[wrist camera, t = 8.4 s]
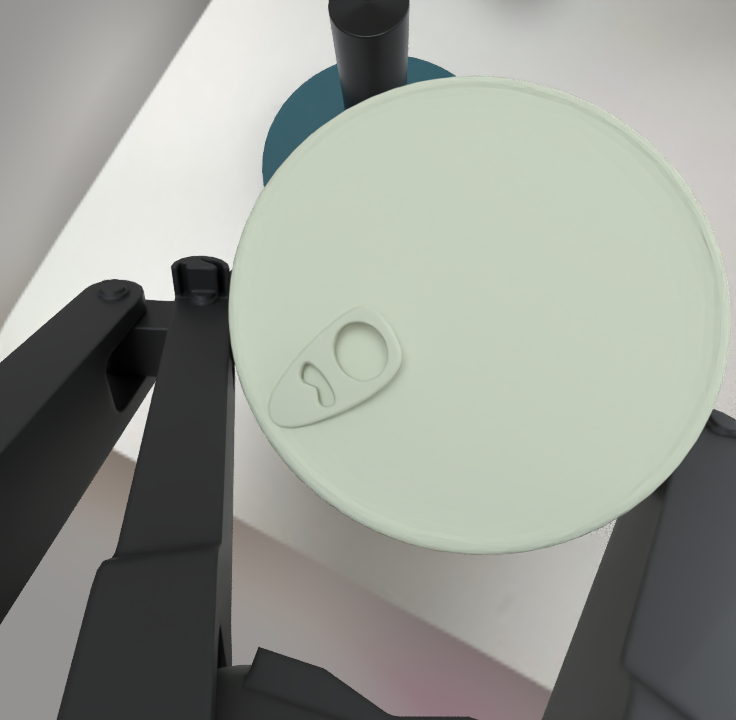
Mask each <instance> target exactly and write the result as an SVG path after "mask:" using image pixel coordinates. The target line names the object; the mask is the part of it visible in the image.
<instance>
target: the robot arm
mask: <svg viewBox="0 0 736 720" xmlns="http://www.w3.org/2000/svg"><path fill="white" fill-rule="evenodd" d="M171 270H172V277H173V284H174V291H175V301H157V300H145V296H144V291H143V288H142V286H140V285H139V284H137V283H135V282H131V281H127V280H118V279H111V280H104V281H102V282H99V283H96V284H93V285H91V286H89V287H88V288H86V289H85V290H83V291H82V292H81V293H80V294H79V295H78V296H77V297H75V298H74V299H73V300H72V301H71V302H70V303H69V304H67V305H66V306H65V307H64V308H63V309H62V310H60V311H59V312H58V313H57V314H56V315H55V316H54V317H52V318H51V319H50V320H49V321H48V322H47V323H45V324H44V325H43V326H42V327H41V328H40V329H39V330H37V331H36V332H35V333H34V334H33V335H32V336H31V337H29V338H28V339H27V340H26V341H25V342H24V343H22V344H21V345H20V346H19V347H18V348H17V349H16V350H14V351H13V352H12V353H11V354H10V355H9V356H8V357H6V358H5V359H4V360H3V361H2V362H1V363H0V624H1V623H2V621H3V619H4V618H5V616H6V615H7V613H8V612H9V610H10V608H11V607H12V605H13V604H14V602H15V601H16V599H17V597H18V596H19V594H20V593H21V591H22V590H23V588H24V586H25V585H26V583H27V582H28V580H29V579H30V577H31V576H32V574H33V572H34V571H35V569H36V568H37V566H38V565H39V563H40V561H41V560H42V558H43V557H44V555H45V553H46V552H47V550H48V549H49V547H50V546H51V544H52V542H53V541H54V539H55V538H56V536H57V535H58V533H59V531H60V530H61V529H62V527H63V525H64V524H65V522H66V521H67V519H68V518H69V516H70V514H71V513H72V511H73V510H74V508H75V506H76V505H77V503H78V502H79V500H80V499H81V497H82V495H83V494H84V492H85V491H86V489H87V488H88V486H89V485H90V483H91V481H92V480H93V478H94V477H95V475H96V474H97V472H98V470H99V469H100V467H101V466H102V464H103V463H104V461H105V459H106V458H107V456H108V455H109V453H110V452H111V450H112V449H113V447H114V445H115V444H116V442H117V441H118V439H119V438H120V436H121V434H122V433H123V431H124V430H125V428H126V427H127V425H128V423H129V422H130V420H131V419H132V417H133V416H134V414H135V413H136V411H137V409H138V408H139V406H140V405H141V403H142V402H143V400H144V398H145V397H146V395H147V394H148V392H149V391H150V389H151V387H152V386H153V384H154V383H155V387H154V391H153V395H152V399H151V404H150V408H149V412H148V417H147V421H146V425H145V429H144V434H143V438H142V442H141V447H140V451H139V455H138V459H137V464H136V468H135V472H134V477H133V481H132V485H131V490H130V494H129V498H128V503H127V507H126V511H125V515H124V520H123V524H122V528H121V532H120V537H119V542H118V545H117V548H116V551H115V554H114V555H113V557H112V558H110V559H108V560H105V561H103V562H102V564H101V565H100V567H99V569H98V570H97V572H96V575H95V578H94V581H93V584H92V587H91V591H90V595H89V598H88V602H87V606H86V610H85V614H84V617H83V621H82V626H81V629H80V633H79V637H78V641H77V644H76V648H75V652H74V656H73V659H72V663H71V668H70V671H69V675H68V679H67V682H66V686H65V690H64V694H63V698H62V702H61V706H60V709H59V713H58V717H57V720H476V719H474V718H471V717H399V716H393V715H390V714H388V713H386V712H384V711H383V710H382V709H380V708H379V707H377V706H376V705H374V704H373V703H372V702H370V701H369V700H368V699H366V698H365V697H363V696H362V695H360V694H359V693H358V692H356V691H355V690H354V689H352V688H351V687H349V686H348V685H346V684H345V683H344V682H342V681H341V680H339V679H338V678H337V677H335V676H334V675H332V674H331V673H329V672H328V671H327V670H325V669H324V668H320V667H318V666H315V665H311V664H309V663H305V662H303V661H299V660H297V659H294V658H290V657H287V656H284V655H281V654H278V653H275V652H272V651H269V650H266V649H263V648H260V647H258V650H257V653H256V655H255V658H254V660H253V663H252V665H237V666H232V648H231V647H232V645H231V590H232V534H233V531H232V530H233V476H234V419H235V361H234V357H233V352H232V347H231V339H230V329H229V292H230V282H231V275H232V270H231V271H229V266H228V264H227V263H226V262H224V261H223V260H221V259H218V258H214V257H208V256H191V257H186V258H182V259H180V260H178V261H176V262H174V263H173V265H172V266H171ZM155 381H156V382H155ZM542 720H736V420H735V419H733V418H732V417H730V416H728V415H726V414H724V413H723V412H720V411H717V410H715V409H713V410H712V412H711V414H710V416H709V418H708V420H707V422H706V424H705V426H704V428H703V430H702V432H701V434H700V435H699V437H698V439H697V441H696V442H695V444H694V445H693V446H692V448H691V449H690V451H689V452H688V453H687V455H686V456H685V458H684V459H683V461H682V462H681V463H680V465H679V466H678V467H677V468H676V469H675V470H674V471H673V472H672V474H671V475H670V476H669V477H668V478H667V479H666V480H665V481H664V482H663V483H662V484H661V485H660V486H659V487H658V488H657V489H656V490H655V491H654V492H653V493H652V494H651V495H649V496H648V497H647V498H645V499H644V500H643V501H641V502H640V503H639V504H638V505H636V506H635V507H634V508H632V509H631V510H630V511H628V512H627V513H625V514H623V515H622V516H620V517H618V518H617V520H616V523H615V526H614V528H613V531H612V534H611V536H610V539H609V542H608V544H607V547H606V550H605V552H604V555H603V558H602V561H601V563H600V566H599V569H598V571H597V574H596V577H595V579H594V582H593V585H592V587H591V590H590V593H589V595H588V598H587V601H586V603H585V606H584V609H583V611H582V614H581V617H580V619H579V622H578V625H577V627H576V630H575V633H574V635H573V638H572V641H571V643H570V646H569V649H568V651H567V654H566V657H565V659H564V662H563V665H562V667H561V670H560V673H559V675H558V678H557V681H556V683H555V686H554V689H553V691H552V694H551V697H550V699H549V702H548V705H547V708H546V710H545V713H544V716H543V718H542Z"/></svg>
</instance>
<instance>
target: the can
mask: <svg viewBox="0 0 736 720" xmlns="http://www.w3.org/2000/svg"><path fill="white" fill-rule="evenodd" d="M730 326H731V310H730V300H729V290H728V281H727V277H726V273H725V269H724V265H723V261H722V257H721V253H720V249H719V247H718V244H717V241H716V238H715V236H714V233H713V230H712V228H711V226H710V224H709V221H708V219H707V218H706V216H705V214H704V212H703V210H702V209H701V207H700V205H699V203H698V201H697V200H696V198H695V196H694V194H693V193H692V191H691V190H690V188H689V187H688V185H687V184H686V183H685V181H684V180H683V178H682V177H681V176H680V174H679V173H678V172H677V171H676V170H675V169H674V167H673V166H672V165H671V164H670V163H669V162H668V161H667V160H666V159H665V158H664V157H663V156H662V155H661V154H660V153H659V152H658V151H657V150H656V149H655V148H654V147H653V145H652V144H651V143H650V142H649V141H647V140H646V139H645V138H643V137H642V136H641V135H639V134H638V133H637V132H636V131H634V130H633V129H632V128H630V127H629V126H628V125H626V124H625V123H624V122H622V121H621V120H620V119H618V118H616V117H615V116H613V115H611V114H609V113H608V112H606V111H604V110H602V109H601V108H599V107H597V106H595V105H594V104H592V103H589V102H587V101H585V100H583V99H580V98H578V97H576V96H573V95H571V94H569V93H566V92H563V91H560V90H557V89H554V88H551V87H547V86H544V85H541V84H537V83H531V82H526V81H520V80H515V79H509V78H502V77H484V76H462V77H449V78H441V79H433V80H427V81H422V82H416V83H413V84H409V85H406V86H402V87H399V88H395V89H392V90H389V91H387V92H384V93H381V94H379V95H376V96H373V97H371V98H369V99H367V100H365V101H363V102H361V103H359V104H357V105H355V106H353V107H351V108H349V109H347V110H345V111H344V112H342V113H341V114H339V115H338V116H336V117H335V118H333V119H332V120H330V121H329V122H327V123H326V124H324V125H323V126H321V127H320V128H319V129H317V130H316V131H315V132H314V133H312V134H311V135H310V136H309V137H308V138H307V139H306V140H304V141H303V142H302V143H301V144H300V145H299V146H298V147H297V148H296V149H295V150H294V151H293V152H292V153H291V154H290V156H289V157H288V158H287V159H286V160H285V161H284V162H283V164H282V165H281V166H280V167H279V168H278V169H277V171H276V172H275V173H274V175H273V176H272V178H271V179H270V180H269V182H268V183H267V185H266V186H265V188H264V189H263V191H262V193H261V194H260V196H259V197H258V199H257V201H256V203H255V205H254V207H253V209H252V211H251V214H250V216H249V218H248V220H247V222H246V224H245V227H244V229H243V232H242V235H241V238H240V241H239V244H238V247H237V250H236V254H235V258H234V263H233V269H232V275H231V282H230V292H229V329H230V339H231V347H232V352H233V357H234V361H235V366H236V370H237V373H238V376H239V380H240V383H241V386H242V389H243V392H244V395H245V397H246V399H247V401H248V403H249V406H250V408H251V410H252V412H253V414H254V416H255V418H256V420H257V422H258V424H259V426H260V428H261V429H262V431H263V433H264V434H265V436H266V437H267V439H268V440H269V442H270V443H271V445H272V446H273V448H274V449H275V450H276V452H277V453H278V454H279V456H280V457H281V458H282V460H283V461H284V462H285V463H286V464H287V466H288V467H289V468H290V469H291V470H292V471H293V472H294V473H295V474H296V476H297V477H298V478H299V479H300V480H301V481H302V482H304V483H305V484H306V485H307V486H308V487H309V488H310V489H311V490H312V491H314V492H315V493H316V494H317V495H318V496H320V497H321V498H322V499H323V500H324V501H326V502H327V503H328V504H330V505H331V506H333V507H334V508H336V509H337V510H339V511H340V512H342V513H343V514H345V515H346V516H348V517H349V518H351V519H352V520H354V521H356V522H358V523H360V524H362V525H364V526H366V527H368V528H370V529H372V530H374V531H376V532H378V533H380V534H383V535H386V536H389V537H391V538H394V539H397V540H399V541H402V542H406V543H409V544H412V545H415V546H419V547H422V548H427V549H432V550H437V551H445V552H452V553H459V554H475V555H497V554H509V553H520V552H527V551H532V550H537V549H542V548H547V547H550V546H554V545H557V544H561V543H564V542H567V541H570V540H572V539H575V538H578V537H581V536H583V535H585V534H588V533H590V532H592V531H595V530H597V529H599V528H601V527H603V526H605V525H607V524H608V523H610V522H612V521H613V520H615V519H617V518H618V517H620V516H622V515H623V514H625V513H627V512H628V511H630V510H631V509H632V508H634V507H635V506H636V505H638V504H639V503H640V502H641V501H643V500H644V499H645V498H647V497H648V496H649V495H651V494H652V493H653V492H654V491H655V490H656V489H657V488H658V487H659V486H660V485H661V484H662V483H663V482H664V481H665V480H666V479H667V478H668V477H669V476H670V475H671V474H672V472H673V471H674V470H675V469H676V468H677V467H678V466H679V465H680V463H681V462H682V461H683V459H684V458H685V456H686V455H687V453H688V452H689V451H690V449H691V448H692V446H693V445H694V444H695V442H696V441H697V439H698V437H699V435H700V434H701V432H702V430H703V428H704V426H705V424H706V422H707V420H708V418H709V416H710V414H711V412H712V410H713V408H714V405H715V402H716V399H717V396H718V394H719V391H720V388H721V385H722V381H723V377H724V373H725V369H726V363H727V357H728V351H729V345H730Z"/></svg>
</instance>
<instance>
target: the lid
mask: <svg viewBox="0 0 736 720" xmlns="http://www.w3.org/2000/svg"><path fill="white" fill-rule="evenodd" d="M328 10H329V16H330V23H331V29H332V35H333V41H334V48H335V54H336V60H337V64H336V65H333V66H331V67H329V68H327V69H325V70H323V71H321V72H320V73H318V74H316V75H314V76H313V77H312V78H310V79H309V80H308V81H306V82H305V83H304V84H302V85H301V86H300V87H299V88H298V89H297V90H296V91H295V92H294V93H293V94H292V95H291V96H290V97H289V98H288V100H287V101H286V102H285V103H284V104H283V106H282V107H281V109H280V110H279V112H278V114H277V115H276V117H275V119H274V121H273V123H272V125H271V127H270V129H269V132H268V136H267V139H266V142H265V147H264V152H263V164H262V173H263V182H264V187H265V186H266V185H267V183H268V182H269V180H270V179H271V178H272V176H273V175H274V173H275V172H276V171H277V169H278V168H279V167H280V166H281V165H282V164H283V162H284V161H285V160H286V159H287V158H288V157H289V156H290V154H291V153H292V152H293V151H294V150H295V149H296V148H297V147H298V146H299V145H300V144H301V143H302V142H303V141H304V140H306V139H307V138H308V137H309V136H310V135H311V134H312V133H314V132H315V131H316V130H317V129H319V128H320V127H321V126H323V125H324V124H326V123H327V122H329V121H330V120H332V119H333V118H335V117H336V116H338V115H339V114H341V113H342V112H344V111H345V110H347V109H349V108H351V107H353V106H355V105H357V104H359V103H361V102H363V101H365V100H367V99H369V98H371V97H373V96H376V95H379V94H381V93H384V92H387V91H389V90H392V89H395V88H399V87H402V86H406V85H409V84H413V83H416V82H422V81H427V80H433V79H441V78H449V77H456V76H455V75H453V74H452V73H450V72H448V71H447V70H445V69H443V68H441V67H439V66H437V65H434V64H432V63H430V62H427V61H424V60H420V59H417V58H413V57H408V36H409V0H329V4H328Z"/></svg>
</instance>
